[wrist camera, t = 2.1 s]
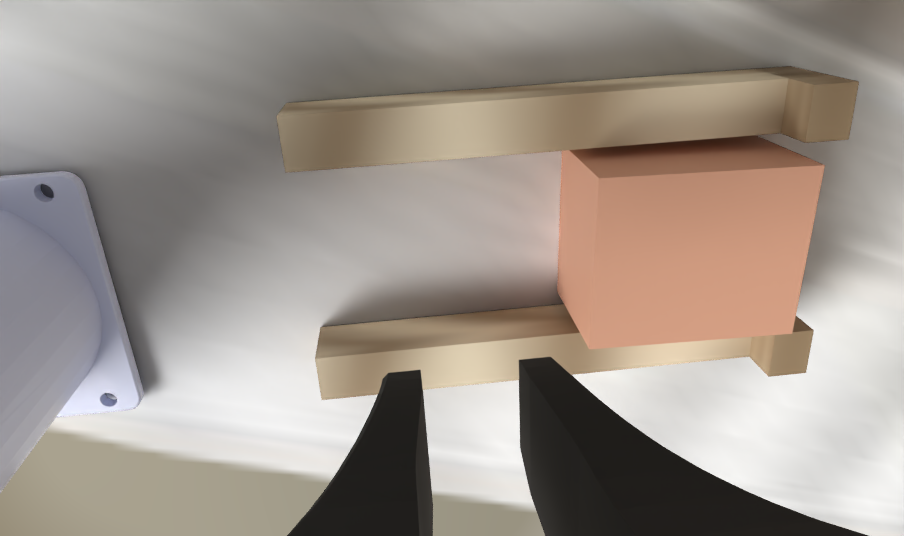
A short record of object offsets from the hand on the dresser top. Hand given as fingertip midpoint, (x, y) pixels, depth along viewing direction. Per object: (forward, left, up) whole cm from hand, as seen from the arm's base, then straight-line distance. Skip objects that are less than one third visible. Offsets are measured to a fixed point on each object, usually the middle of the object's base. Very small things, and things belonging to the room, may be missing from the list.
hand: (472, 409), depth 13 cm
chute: (+4, 0, -9) cm, 10 cm away
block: (+7, 0, -10) cm, 12 cm away
